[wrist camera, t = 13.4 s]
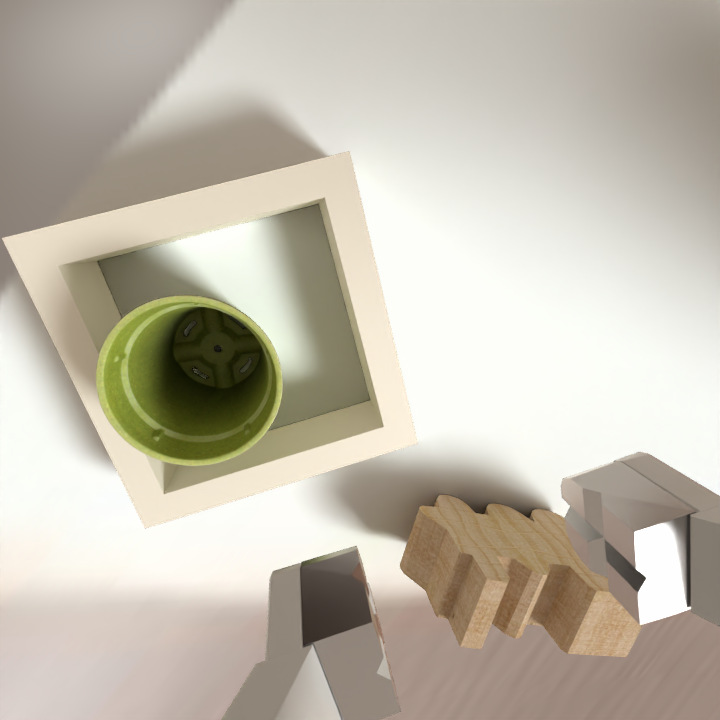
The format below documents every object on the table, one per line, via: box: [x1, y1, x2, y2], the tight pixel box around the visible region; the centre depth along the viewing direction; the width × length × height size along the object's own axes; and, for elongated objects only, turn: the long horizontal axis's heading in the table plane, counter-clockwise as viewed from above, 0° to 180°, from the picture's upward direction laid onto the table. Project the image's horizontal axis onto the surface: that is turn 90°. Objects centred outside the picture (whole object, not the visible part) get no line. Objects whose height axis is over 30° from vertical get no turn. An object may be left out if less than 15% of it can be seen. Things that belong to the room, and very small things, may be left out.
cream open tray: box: [2, 151, 418, 529], centre depth 28 cm, size 19×19×5 cm
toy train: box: [400, 495, 643, 657], centre depth 34 cm, size 6×17×10 cm, turn 74°
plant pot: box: [96, 295, 283, 466], centre depth 27 cm, size 9×9×9 cm
